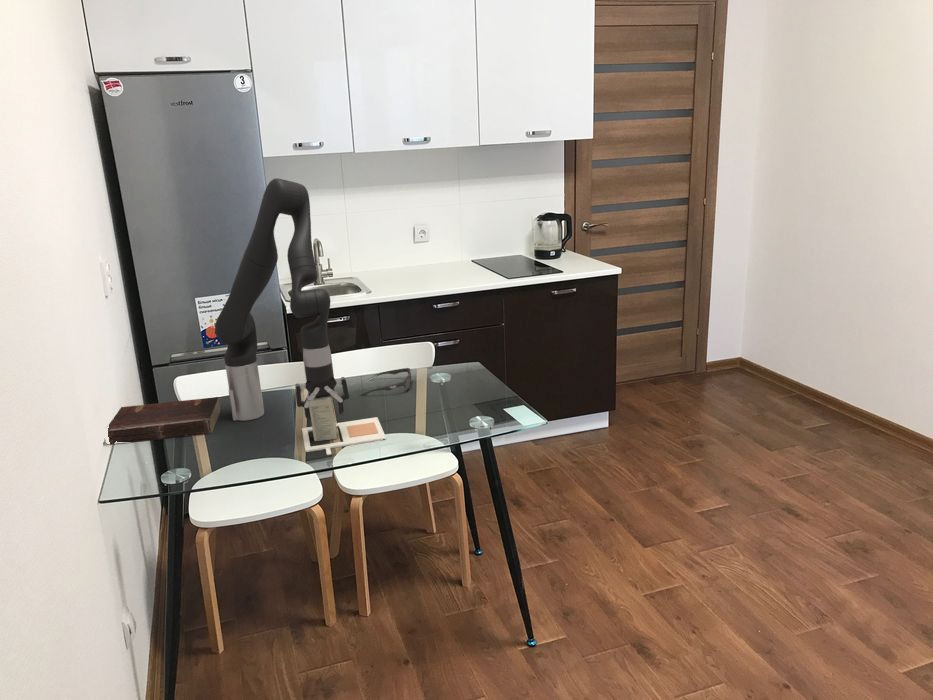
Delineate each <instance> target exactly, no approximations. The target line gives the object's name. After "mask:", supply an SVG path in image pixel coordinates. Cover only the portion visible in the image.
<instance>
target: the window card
mask: <svg viewBox="0 0 933 700" xmlns="http://www.w3.org/2000/svg"><path fill="white" fill-rule="evenodd" d="M336 428H339V431H340V434H341V438H342V441H337V442H333V443H331V442H330V443H325V444H319V445H313V446H311V443H310V442H311V441H310V436H309V432H313V429H312V426H309V427H308V426H307V427H302V428H301V431H302V439H303V446H304V450H305V451H304V452H305V453H309V452H315V451H323V450H325V452H326V455H327V456H330V455H332V450H331V449H335V448H340V447H341V448H342V447H349V446H353V445H354V446H355V445H359V444H360V445H361V444H366V443H367V444H368V443H373V442H379V441H378V440H380V441H382V440H381V439H384V438H385V437H386V434H385V432H384V430H383V427H382V424H381V423H380V421H379V418H378V416H377V417H370V418H362V419H355V420H349V421H343V422H336Z"/></svg>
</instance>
